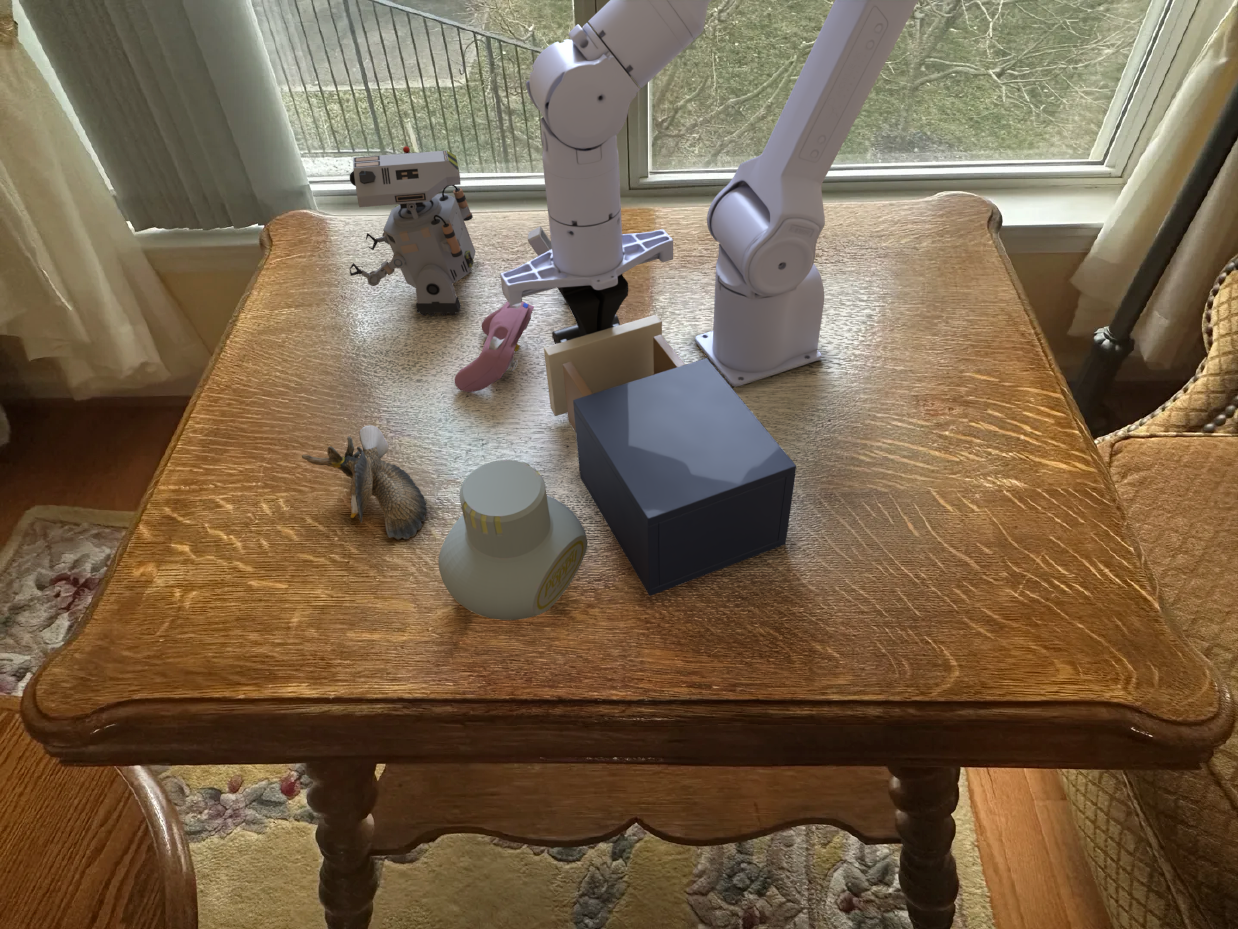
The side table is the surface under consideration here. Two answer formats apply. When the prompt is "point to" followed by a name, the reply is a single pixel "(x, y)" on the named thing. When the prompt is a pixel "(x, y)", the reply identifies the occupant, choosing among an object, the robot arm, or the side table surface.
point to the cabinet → (683, 474)
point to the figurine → (419, 223)
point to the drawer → (604, 360)
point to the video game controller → (496, 347)
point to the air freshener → (510, 544)
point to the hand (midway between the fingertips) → (594, 346)
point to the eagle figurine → (378, 483)
